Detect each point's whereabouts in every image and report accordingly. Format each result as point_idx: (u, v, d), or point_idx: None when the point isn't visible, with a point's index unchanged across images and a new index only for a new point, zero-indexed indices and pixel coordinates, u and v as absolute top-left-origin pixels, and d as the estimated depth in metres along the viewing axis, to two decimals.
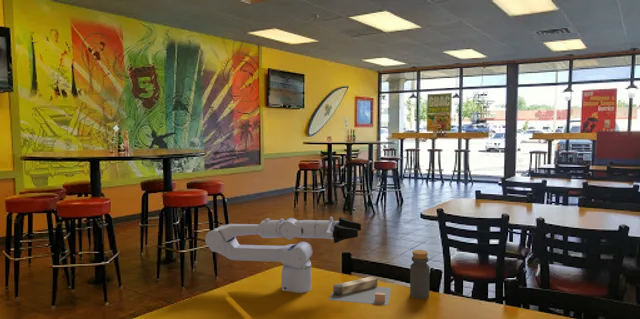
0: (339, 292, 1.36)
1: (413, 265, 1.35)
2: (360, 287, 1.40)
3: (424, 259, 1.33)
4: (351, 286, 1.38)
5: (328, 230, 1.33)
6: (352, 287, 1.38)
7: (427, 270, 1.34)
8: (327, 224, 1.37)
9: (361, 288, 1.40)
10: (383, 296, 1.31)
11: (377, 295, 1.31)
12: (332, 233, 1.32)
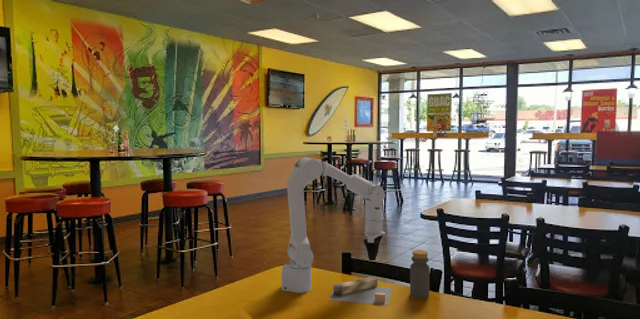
0: (339, 292, 1.36)
1: (413, 265, 1.35)
2: (360, 287, 1.40)
3: (424, 259, 1.33)
4: (351, 286, 1.38)
5: (374, 237, 1.45)
6: (352, 287, 1.38)
7: (427, 270, 1.34)
8: (378, 231, 1.48)
9: (361, 288, 1.40)
10: (383, 296, 1.31)
11: (377, 295, 1.31)
12: None
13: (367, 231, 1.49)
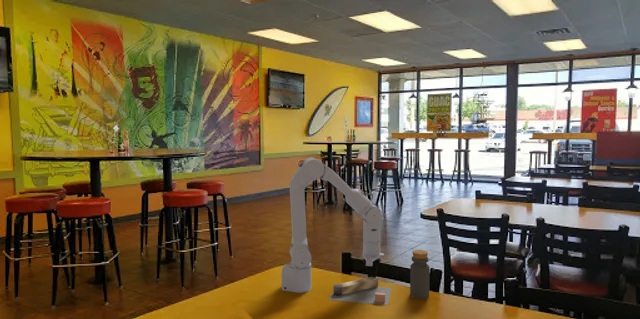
0: (339, 292, 1.36)
1: (413, 265, 1.35)
2: (360, 287, 1.40)
3: (424, 259, 1.33)
4: (351, 286, 1.38)
5: (373, 260, 1.40)
6: (352, 288, 1.38)
7: (427, 270, 1.34)
8: (377, 253, 1.43)
9: (361, 288, 1.40)
10: (383, 296, 1.31)
11: (377, 295, 1.31)
12: (371, 265, 1.39)
13: (365, 253, 1.44)
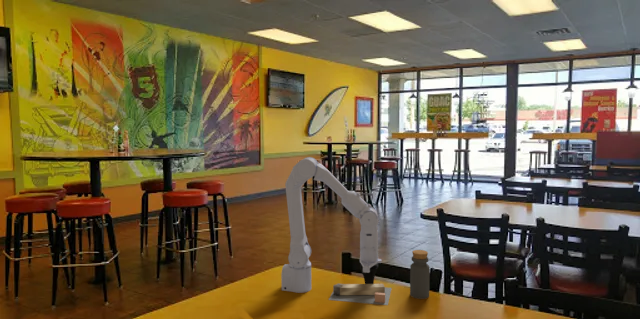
0: (337, 292, 1.36)
1: (413, 265, 1.35)
2: (362, 291, 1.36)
3: (424, 259, 1.33)
4: (351, 289, 1.36)
5: (370, 266, 1.34)
6: (352, 290, 1.36)
7: (427, 270, 1.34)
8: (374, 259, 1.37)
9: (364, 293, 1.36)
10: (383, 296, 1.31)
11: (377, 295, 1.31)
12: None
13: (362, 259, 1.38)
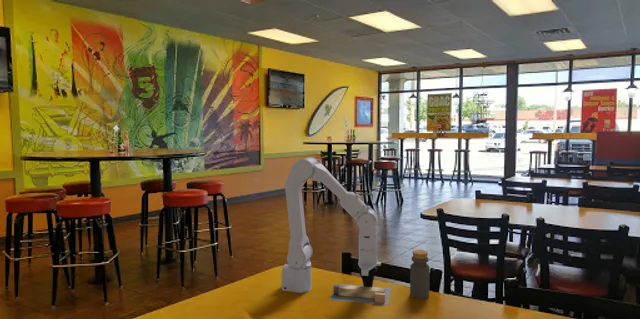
0: (335, 292, 1.36)
1: (413, 265, 1.35)
2: (361, 294, 1.34)
3: (424, 259, 1.33)
4: (350, 290, 1.35)
5: (369, 269, 1.31)
6: (351, 292, 1.35)
7: (427, 270, 1.34)
8: (373, 262, 1.34)
9: (362, 296, 1.34)
10: (383, 296, 1.31)
11: (377, 295, 1.31)
12: None
13: (361, 262, 1.35)
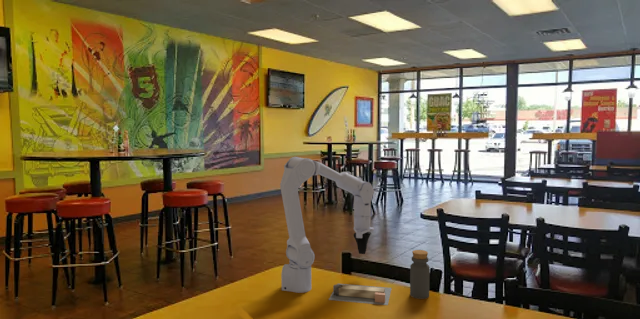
0: (335, 292, 1.36)
1: (413, 265, 1.35)
2: (361, 294, 1.34)
3: (424, 259, 1.33)
4: (350, 290, 1.35)
5: (363, 233, 1.47)
6: (351, 292, 1.35)
7: (427, 270, 1.34)
8: (367, 227, 1.50)
9: (362, 296, 1.34)
10: (383, 296, 1.31)
11: (377, 295, 1.31)
12: (361, 237, 1.46)
13: (356, 227, 1.51)
